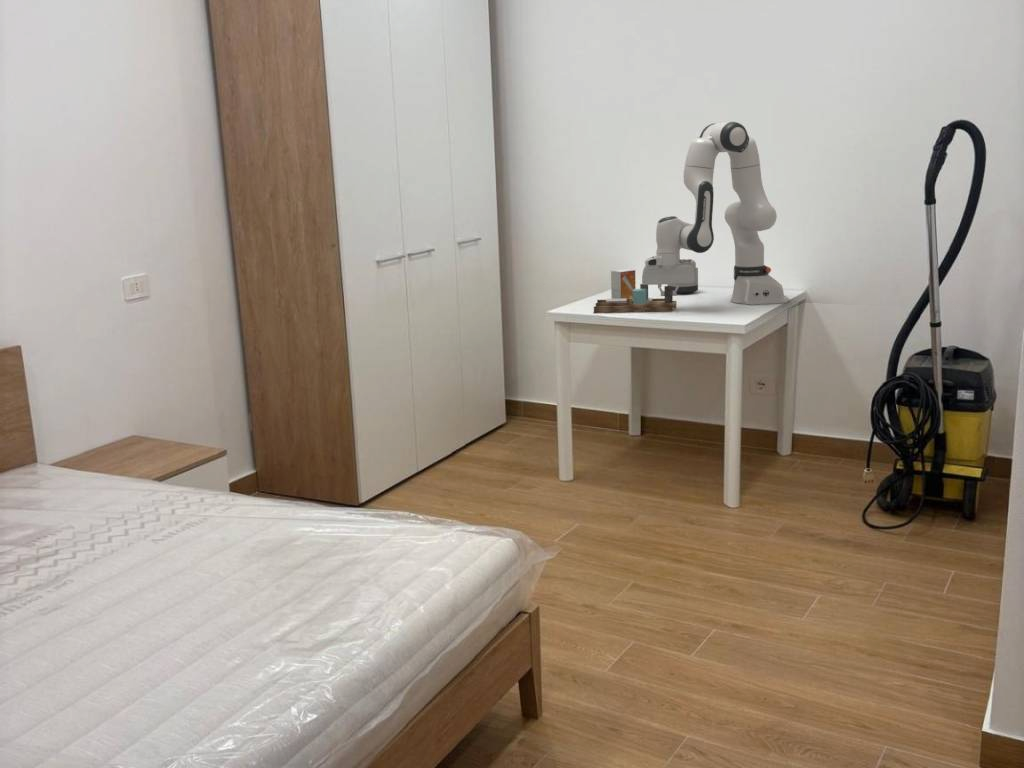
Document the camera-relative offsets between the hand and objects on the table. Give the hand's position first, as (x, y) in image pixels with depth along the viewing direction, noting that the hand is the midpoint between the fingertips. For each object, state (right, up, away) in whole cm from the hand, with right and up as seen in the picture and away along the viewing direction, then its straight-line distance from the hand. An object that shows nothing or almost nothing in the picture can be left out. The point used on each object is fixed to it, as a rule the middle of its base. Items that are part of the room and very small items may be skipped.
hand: (668, 295), depth 378 cm
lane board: (-12, -5, +7) cm, 15 cm away
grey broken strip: (-14, -3, +11) cm, 18 cm away
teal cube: (-11, -3, +2) cm, 11 cm away
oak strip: (-6, -4, +2) cm, 7 cm away
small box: (-14, 0, +25) cm, 29 cm away
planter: (+13, +5, +40) cm, 43 cm away
